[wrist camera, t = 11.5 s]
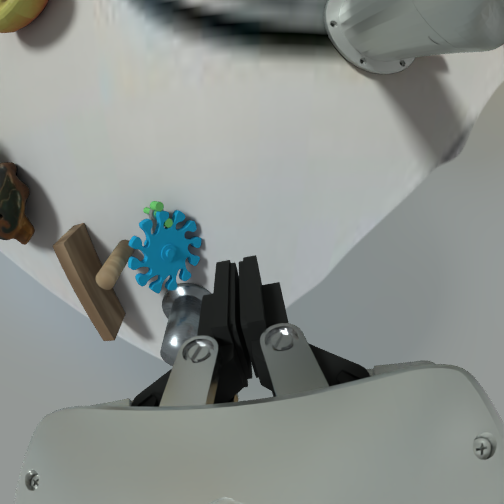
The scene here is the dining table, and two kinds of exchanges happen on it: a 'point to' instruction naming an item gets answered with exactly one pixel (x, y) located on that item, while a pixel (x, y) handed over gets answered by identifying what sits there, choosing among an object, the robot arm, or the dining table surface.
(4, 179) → the decorative turtle
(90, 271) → the brown wooden plank
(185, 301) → the post
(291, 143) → the dining table surface
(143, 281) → the gear
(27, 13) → the apple
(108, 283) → the dowel pin
